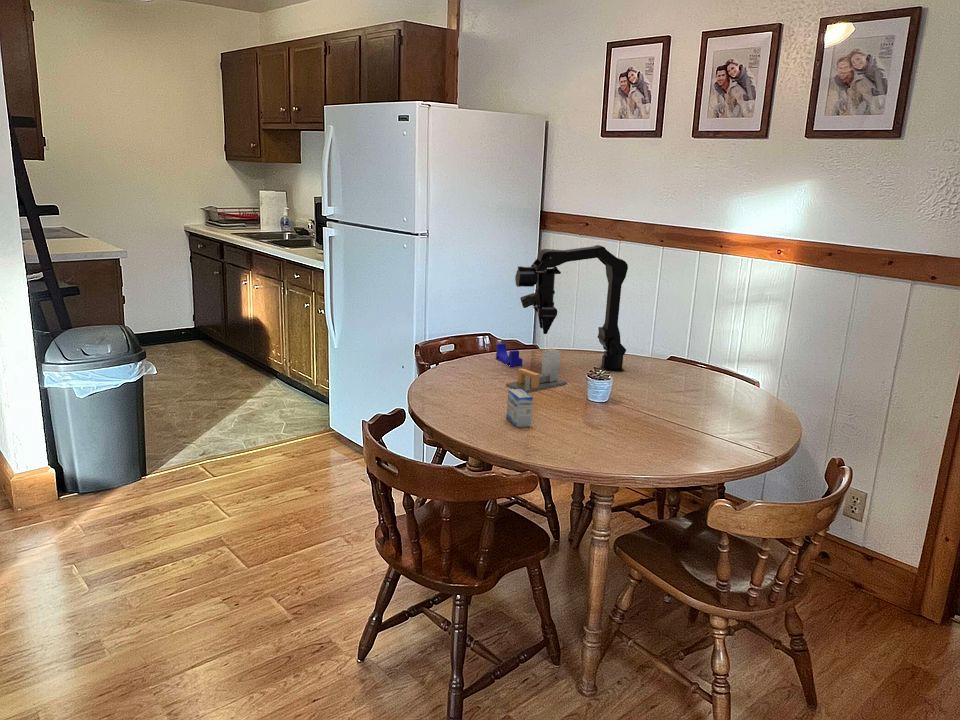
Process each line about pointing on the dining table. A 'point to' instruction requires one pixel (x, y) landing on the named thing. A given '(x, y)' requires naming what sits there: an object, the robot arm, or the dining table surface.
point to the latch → (550, 366)
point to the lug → (533, 375)
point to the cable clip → (503, 357)
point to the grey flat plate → (528, 388)
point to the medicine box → (519, 408)
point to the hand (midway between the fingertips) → (543, 331)
